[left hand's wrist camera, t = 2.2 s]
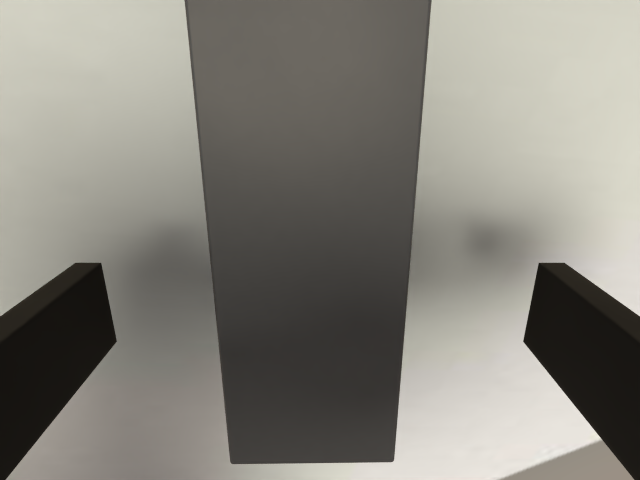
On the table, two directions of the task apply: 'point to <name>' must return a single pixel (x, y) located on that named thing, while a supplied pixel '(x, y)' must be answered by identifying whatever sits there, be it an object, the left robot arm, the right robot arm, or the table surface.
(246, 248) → the post
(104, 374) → the table surface
